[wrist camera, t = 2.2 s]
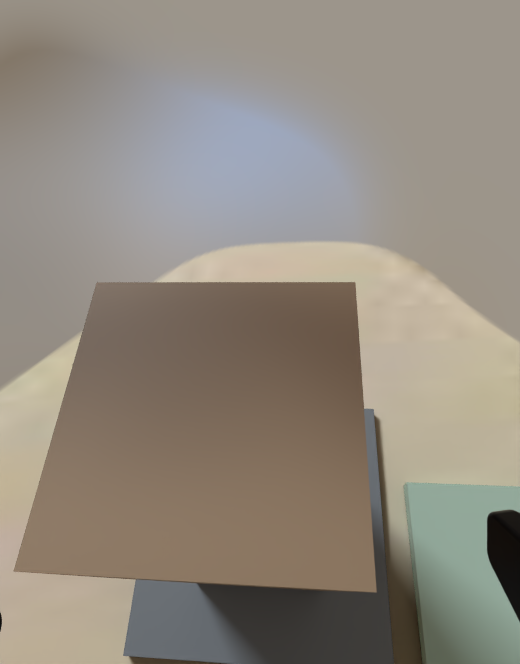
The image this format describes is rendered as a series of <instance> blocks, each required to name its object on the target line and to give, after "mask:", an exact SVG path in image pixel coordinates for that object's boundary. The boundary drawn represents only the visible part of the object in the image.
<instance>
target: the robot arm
mask: <svg viewBox="0 0 520 664" xmlns="http://www.w3.org/2000/svg"><path fill="white" fill-rule="evenodd" d="M487 554H488V558H489V561H490V564H491V566H492V568H493V570H494V572H495V574H496V576H497V578H498V580H499V582H500V584H501V586H502V588H503V590H504V592H505V594H506V596H507V598H508V600H509V602H510V604H511V606H512V608H513V610H514V612H515V614H516V616H517V618H518V620H519V622H520V513H519V512H517V511H515V510H510V509H509V510H501V511H493V512H491V513H489V514H488V517H487ZM1 626H2V617H1V613H0V631H1Z"/></svg>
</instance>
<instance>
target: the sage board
mask: <svg viewBox="0 0 520 664" xmlns="http://www.w3.org/2000/svg"><path fill="white" fill-rule="evenodd" d="M404 494H405V503H406V513H407V522H408V532H409V541H410V550H411V560H412V569H413V579H414V588H415V598H416V607H417V616H418V626H419V635H420V645H421V654H422V663H423V664H520V622H519V620H518V618H517V616H516V614H515V612H514V610H513V608H512V606H511V604H510V602H509V600H508V598H507V596H506V594H505V592H504V590H503V588H502V586H501V584H500V582H499V580H498V578H497V576H496V574H495V572H494V570H493V568H492V566H491V564H490V561H489V558H488V554H487V517H488V514H489V513H491V512H493V511H501V510H509V509H510V510H515V511H517V512H519V513H520V487H515V486H488V485H461V484H434V483H406V484H405V485H404Z"/></svg>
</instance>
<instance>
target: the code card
mask: <svg viewBox="0 0 520 664" xmlns="http://www.w3.org/2000/svg"><path fill="white" fill-rule="evenodd" d="M364 416H365V431H366V445H367V460H368V474H369V489H370V503H371V518H372V532H373V547H374V561H375V576H376V590H377V592H347V591H320V590H303V589H285V588H268V587H251V586H234V585H217V584H200V583H184V582H169V581H153V580H138V579H136V582H135V588H134V594H133V600H132V606H131V612H130V618H129V624H128V630H127V636H126V642H125V648H124V654H123V656H134V657H147V658H161V659H175V660H188V661H202V662H215V663H229V664H394V658H393V645H392V633H391V620H390V608H389V596H388V583H387V571H386V558H385V546H384V533H383V521H382V508H381V496H380V484H379V471H378V459H377V446H376V434H375V421H374V409H364Z"/></svg>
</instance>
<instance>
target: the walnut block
mask: <svg viewBox="0 0 520 664" xmlns="http://www.w3.org/2000/svg"><path fill="white" fill-rule="evenodd" d="M14 571H15V572H31V573H46V574H61V575H77V576H92V577H107V578H123V579H138V580H153V581H169V582H184V583H200V584H217V585H234V586H251V587H268V588H285V589H303V590H320V591H347V592H377V590H376V576H375V561H374V547H373V532H372V518H371V503H370V489H369V474H368V460H367V445H366V431H365V416H364V402H363V387H362V373H361V359H360V344H359V330H358V315H357V301H356V286H355V282H167V283H96V287H95V291H94V294H93V297H92V301H91V304H90V308H89V311H88V315H87V318H86V322H85V325H84V329H83V332H82V335H81V339H80V342H79V346H78V349H77V353H76V356H75V360H74V363H73V367H72V370H71V374H70V377H69V381H68V384H67V388H66V391H65V395H64V398H63V401H62V405H61V408H60V412H59V415H58V419H57V422H56V426H55V429H54V433H53V436H52V440H51V443H50V447H49V450H48V454H47V457H46V460H45V464H44V467H43V471H42V474H41V478H40V481H39V485H38V488H37V492H36V495H35V499H34V502H33V506H32V509H31V513H30V516H29V520H28V523H27V526H26V530H25V533H24V537H23V540H22V544H21V547H20V551H19V554H18V558H17V561H16V565H15V568H14Z"/></svg>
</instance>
